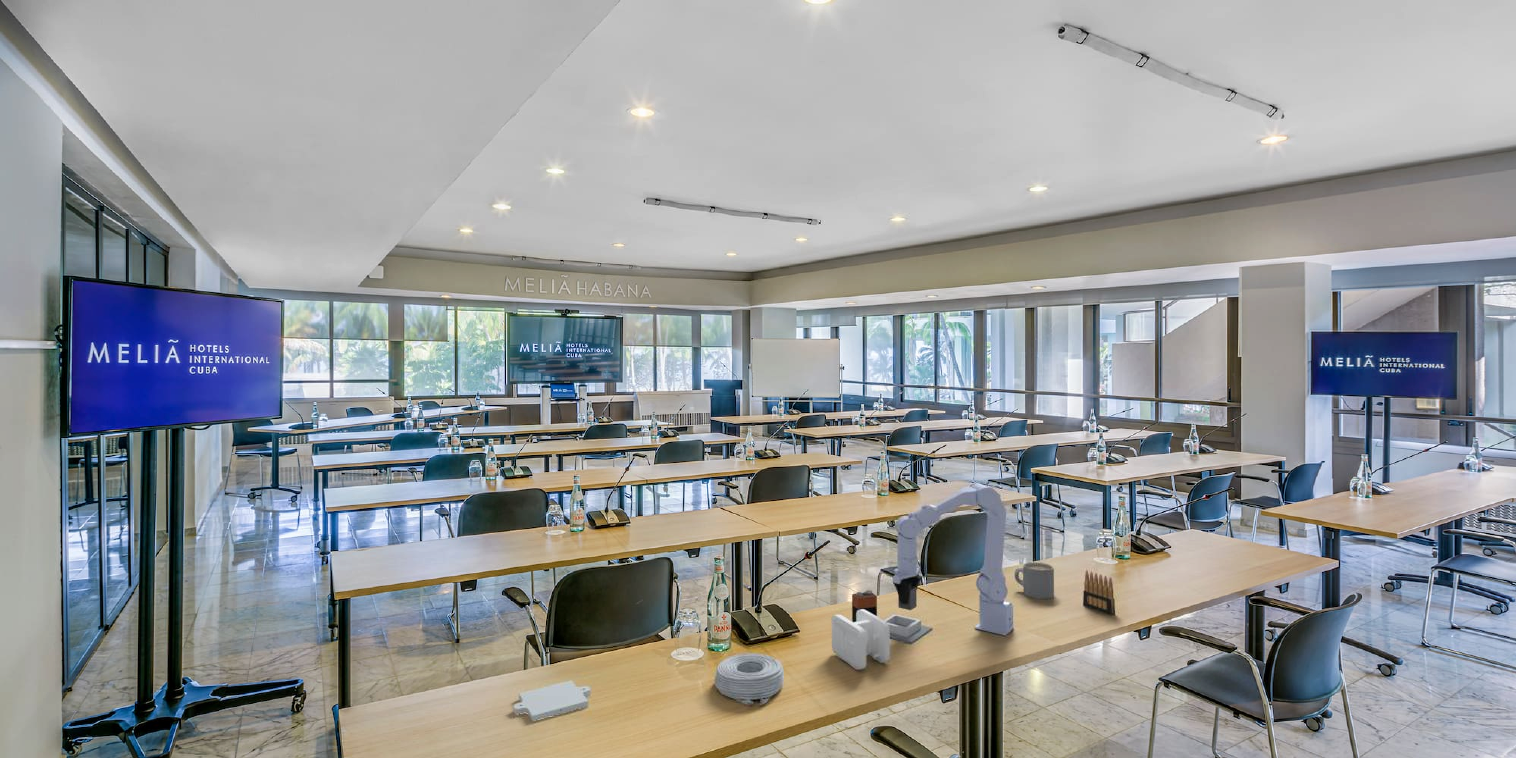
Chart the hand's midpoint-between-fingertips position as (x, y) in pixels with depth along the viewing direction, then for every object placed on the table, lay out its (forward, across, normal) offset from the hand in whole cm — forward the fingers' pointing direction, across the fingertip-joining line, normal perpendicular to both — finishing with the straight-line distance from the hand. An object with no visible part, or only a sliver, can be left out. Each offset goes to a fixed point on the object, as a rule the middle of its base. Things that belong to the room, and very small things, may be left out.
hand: (907, 601), depth 207 cm
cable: (+10, +58, -15) cm, 60 cm away
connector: (+2, 0, 0) cm, 2 cm away
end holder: (+9, +1, -2) cm, 9 cm away
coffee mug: (+9, -60, +20) cm, 64 cm away
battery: (+9, +2, -14) cm, 17 cm away
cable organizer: (+10, +27, -1) cm, 29 cm away
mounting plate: (+10, +93, -47) cm, 105 cm away
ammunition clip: (+9, -55, +41) cm, 69 cm away
